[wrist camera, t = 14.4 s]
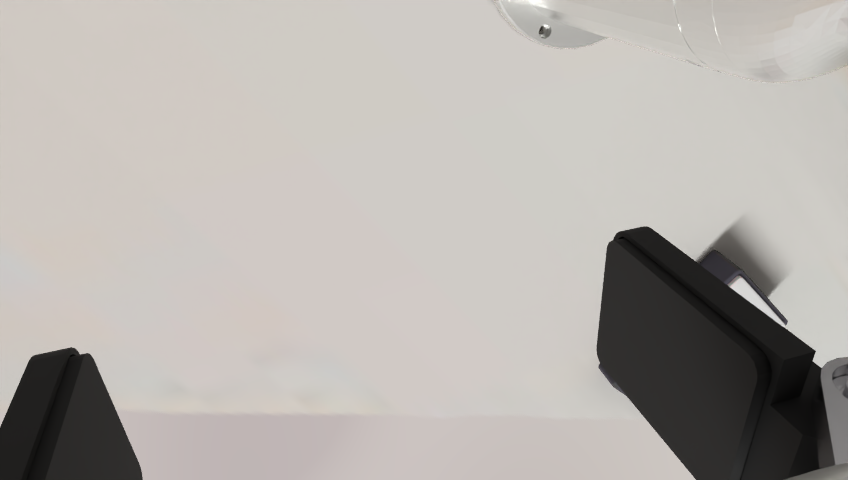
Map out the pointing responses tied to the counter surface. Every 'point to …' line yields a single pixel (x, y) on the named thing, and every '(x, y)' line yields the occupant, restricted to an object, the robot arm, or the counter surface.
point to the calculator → (738, 283)
